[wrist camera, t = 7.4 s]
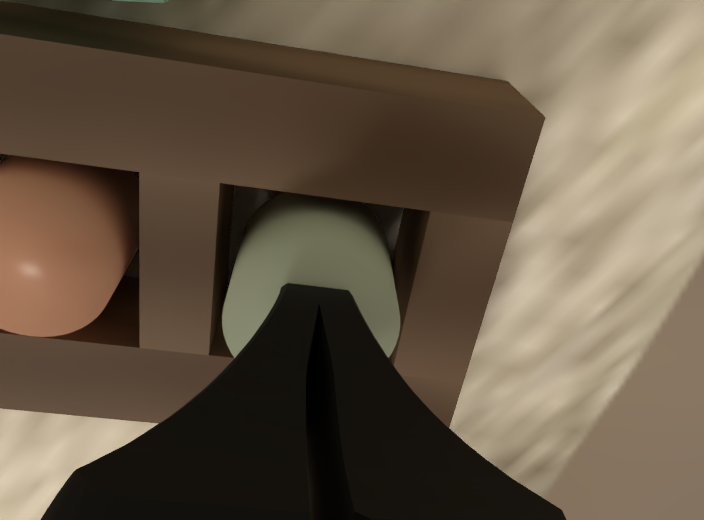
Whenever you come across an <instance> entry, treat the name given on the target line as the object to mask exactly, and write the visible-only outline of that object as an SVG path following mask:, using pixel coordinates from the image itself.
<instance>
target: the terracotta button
mask: <svg viewBox="0 0 704 520" xmlns="http://www.w3.org/2000/svg"><path fill="white" fill-rule="evenodd" d="M138 248H139V180H138V178H137V177H136V176H135V174H134V173H133V171H127V170H119V169H112V168H105V167H97V166H90V165H82V164H75V163H67V162H60V161H53V160H45V159H38V158H30V157H23V156H15V155H10V156H9V157H8V158H7V159H5V160H4V161H3V162H1V163H0V329H3V330H6V331H8V332H12V333H16V334H20V335H26V336H35V337H51V336H59V335H64V334H68V333H71V332H74V331H76V330H79V329H81V328H83V327H85V326H86V325H88V324H89V323H91V322H92V321H93V320H94V319H96V318H97V317H98V316H99V315H100V313H101V312H102V311H103V310H104V308H105V306H106V305H107V303H108V302H109V300H110V298H111V296H112V294H113V293H114V291H115V289H116V287H117V286H118V284H119V282H120V280H121V279H122V277H123V275H124V273H125V271H126V270H127V268H128V266H129V264H130V263H131V261H132V259H133V257H134V256H135V254H136V252H137V250H138Z"/></svg>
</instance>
